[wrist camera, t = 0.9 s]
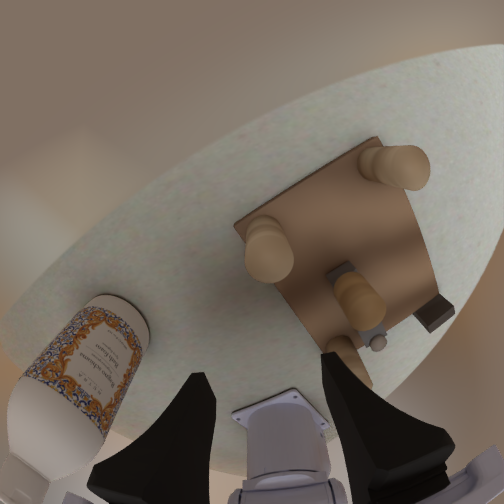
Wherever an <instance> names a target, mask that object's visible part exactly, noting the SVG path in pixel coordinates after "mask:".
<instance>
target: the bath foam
mask: <svg viewBox="0 0 504 504" xmlns="http://www.w3.org/2000/svg"><path fill="white" fill-rule="evenodd" d="M148 344H149V331H148V327H147V325H146V323H145V321H144V319H143V317H142V316H141V315H140V313H139V312H138V311H137V310H136V309H135V308H134V307H133V306H132V305H130V304H129V303H128V302H126V301H124V300H122V299H120V298H118V297H115V296H111V295H101V296H97V297H95V298H93V299H92V300H91V301H89V302H88V303H87V304H86V305H85V306H84V307H83V308H82V309H81V310H80V311H79V312H78V313H77V314H76V315H75V316H74V317H73V318H72V319H71V320H70V321H69V322H68V324H67V325H66V326H65V327H64V328H63V329H62V330H61V331H60V332H59V333H58V334H57V335H56V336H55V338H54V339H53V340H52V341H51V342H50V343H49V344H48V345H47V346H46V348H45V349H44V350H43V351H42V352H41V353H40V354H39V356H38V357H37V358H36V359H35V360H34V361H33V363H32V364H31V365H30V366H29V367H28V369H27V370H26V371H25V372H24V373H23V375H22V376H21V377H20V378H19V380H18V382H17V384H16V385H15V387H14V389H13V391H12V394H11V396H10V400H9V404H8V411H7V427H8V439H9V448H10V454H9V455H8V456H7V458H6V460H5V461H4V463H3V465H2V467H1V469H0V500H1V501H2V502H3V503H5V504H42V502H43V500H44V497H45V495H46V493H47V490H48V487H49V483H51V482H52V481H55V480H57V479H60V478H63V477H65V476H67V475H70V474H72V473H74V472H76V471H78V470H80V469H82V468H83V467H85V466H86V465H87V464H88V463H90V462H91V461H92V460H93V459H94V457H95V456H96V455H97V453H98V452H99V450H100V449H101V447H102V445H103V444H104V442H105V439H106V437H107V434H108V432H109V430H110V427H111V425H112V423H113V421H114V418H115V416H116V414H117V411H118V409H119V407H120V405H121V403H122V400H123V398H124V396H125V394H126V392H127V390H128V387H129V385H130V383H131V381H132V379H133V377H134V375H135V373H136V371H137V368H138V366H139V364H140V362H141V360H142V358H143V356H144V354H145V352H146V350H147V347H148Z"/></svg>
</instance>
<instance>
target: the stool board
mask: <svg viewBox="0 0 504 504" xmlns="http://www.w3.org/2000/svg"><path fill="white" fill-rule="evenodd" d="M429 176H430V163H429V160H428V157H427V155H426V154H425V153H424V151H423V150H422V149H420V148H419V147H417V146H413V145H408V146H386V147H383V145H382V143H381V141H380V140H379V138H378V136H377V137H371V138H370V139H368V140H366V141H365V142H363V143H361V144H360V145H358V146H356V147H355V148H353V149H351V150H349V151H348V152H346V153H344V154H343V155H341V156H340V157H338V158H336V159H335V160H333V161H331V162H330V163H328V164H326V165H325V166H323V167H322V168H320V169H318V170H317V171H315V172H313V173H312V174H310V175H309V176H307V177H305V178H304V179H302V180H301V181H299V182H297V183H296V184H294V185H293V186H291V187H290V188H288V189H286V190H285V191H283V192H282V193H280V194H279V195H277V196H275V197H274V198H272V199H271V200H269V201H268V202H266V203H265V204H263V205H262V206H260V207H258V208H257V209H255V210H254V211H252V212H251V213H249V214H248V215H246V216H245V217H243V218H242V219H240V220H239V221H237V222H236V223H234V228H235V230H236V231H237V232H238V234H239V235H240V237H241V238H242V239H243V241H244V242H245V244H246V248H245V267H246V269H247V271H248V273H249V274H250V276H251V277H253V278H254V279H255V280H257V281H259V282H263V283H274V285H275V286H276V287H277V289H278V290H279V292H280V293H281V294H282V296H283V297H284V299H285V300H286V301H287V303H288V304H289V306H290V307H291V308H292V310H293V311H294V313H295V314H296V316H297V317H298V318H299V320H300V321H301V323H302V324H303V325H304V327H305V328H306V330H307V331H308V332H309V334H310V335H311V337H312V338H313V339H314V341H315V342H316V344H317V345H318V346H319V348H320V349H321V351H322V352H323V354H324V353H329V352H333V351H334V352H336V353H337V354H338V356H339V357H340V358H341V360H342V361H343V362H344V363H345V364H346V366H347V367H348V368H349V369H350V370H351V371H352V372H353V373H354V374H355V375H356V376H357V377H358V378H359V379H360V380H361V381H362V382H363V383H364V384H365V385H366V386H367V387H369V388H370V389H372V386H373V383H372V381H371V379H370V377H369V375H368V372H367V370H366V368H365V366H364V364H363V362H362V360H361V358H360V356H359V354H358V352H357V349H359V348H360V347H362V346H364V345H365V344H364V342H363V340H362V339H361V337H360V335H359V333H358V331H357V330H355V329H354V328H353V327H352V326H351V325H350V323H349V321H348V319H347V317H346V315H345V314H344V312H343V310H342V308H341V306H340V305H339V303H338V301H337V299H336V298H335V296H334V292H333V287H332V285H331V283H330V282H329V280H328V278H327V277H326V275H327V274H328V273H330V272H332V271H333V270H335V269H336V268H338V267H339V266H341V265H343V264H344V263H346V262H347V261H350V262H351V263H352V265H353V266H354V267H355V268H356V269H357V271H358V273H360V274H361V275H362V276H363V277H364V278H365V279H366V280H367V281H368V283H369V284H370V285H371V286H372V287H373V288H374V289H375V291H376V292H377V293H378V294H379V295H380V297H381V298H382V299H383V300H384V301H385V304H386V314H385V316H384V318H383V320H382V324H383V326H384V328H385V330H386V331H388V330H389V329H391V328H392V327H394V326H395V325H397V324H398V323H400V322H401V321H402V320H404V319H405V318H407V317H408V316H410V315H411V314H413V315H414V316H415V317H416V318H417V319H418V320H419V322H420V323H421V324H422V325H423V326H424V327H425V328H426V330H427V331H428V332H429V333H431V332H433V331H434V330H435V329H437V328H438V327H439V326H441V325H442V324H443V323H444V322H446V321H447V320H448V319H449V318H451V317H452V316H453V315H454V314H455V310H454V306H453V305H452V304H451V303H450V302H449V301H448V300H446V299H445V298H444V297H443V296H442V295H441V294H439V291H438V287H437V283H436V279H435V275H434V272H433V268H432V265H431V261H430V258H429V255H428V252H427V249H426V246H425V243H424V240H423V237H422V234H421V231H420V228H419V225H418V223H417V220H416V217H415V215H414V212H413V210H412V207H411V205H410V202H409V200H408V198H407V195H406V193H405V191H404V189H407V190H411V191H417V190H420V189H421V188H423V187H424V186H425V185H426V183H427V182H428V180H429Z"/></svg>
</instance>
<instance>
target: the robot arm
mask: <svg viewBox="0 0 504 504" xmlns="http://www.w3.org/2000/svg"><path fill="white" fill-rule="evenodd" d="M321 366H322V383H323V388H324V392H325V397H326V401H327V404H328V407H329V410H330V413H331V415H332V418H333V421H334V424H335V426H336V429H337V432H338V435H339V438H340V441H341V444H342V448H343V453H344V457H345V462H346V467H347V472H348V478H349V483H350V489H351V495H352V502H353V504H487V503H488V502H490V501H491V500H492V499H494V498H495V497H496V496H497V495H499V494H500V493H501V492H502V491H504V459H503V457H502V455H501V454H500V452H499V450H498V448H497V447H496V445H493V446H491V447H490V448H489V449H487V450H486V451H484V452H483V453H481V454H480V455H478V456H477V457H476V458H474V459H473V460H472V461H471V462H470V463H468V465H467V466H466V467H465V468H464V469H462V470H461V471H459V472H457V473H456V474H454V475H452V476H450V477H448V476H447V474H446V472H445V471H446V470H447V466H446V464H445V461H446V460H447V459H448V457H449V456H450V455H451V454H452V452H453V451H454V449H455V444H454V442H453V440H452V438H451V437H450V436H449V434H448V433H447V432H446V431H445V429H443V428H440V427H436V426H434V425H431V424H428V423H425V422H423V421H420V420H418V419H416V418H414V417H412V416H410V415H408V414H406V413H404V412H403V411H400V410H399V409H397V408H395V407H394V406H392V405H391V404H389V403H388V402H386V401H385V400H384V399H382V398H381V397H379V396H378V395H377V394H376V393H374V392H373V391H372V390H371V389H370V388H369V387H367V386H366V385H365V384H364V383H363V382H362V381H361V380H360V379H359V378H358V377H357V376H356V375H355V374H354V373H353V372H352V371H351V370H350V369H349V368H348V367H347V366H346V364H345V363H344V362H343V361H342V360H341V358H340V357H339V356H338V354H337V353H336V352H334V351H333V352H329V353H324V354H321ZM295 395H296V396H295ZM231 417H232V418H233V419H234V420H235V421H237V422H238V423H239V424H241V425H242V426H243V427H245V428H246V429H247V430H248V434H247V480H243V489H236V490H235V491H234V492H233V493H232V494H231V495H230V496H229V499H228V504H348V501H347V496H346V492H345V489H344V487H343V484H342V483H341V482H340V481H338V480H336V479H335V478H331V479H328V477H329V474H330V471H331V464H330V460H329V455H328V451H327V446H326V441H325V437H324V432H323V430H325V429H327V428H329V427H330V424H329V423H328V422H327V421H326V420H325V419H324V418H323V417H322V416H321V415H320V414H319V413H318V412H317V411H316V410H315V409H314V407H313V406H312V405H311V404H310V403H309V402H308V401H307V400H306V399H305V398H304V397H303V396H302V395H301V394H300V393H299V392H298V391H297V390H296V389H291V390H289V391H287V392H284V393H282V394H280V395H277V396H275V397H273V398H270V399H268V400H265V401H263V402H261V403H258V404H255V405H253V406H250V407H248V408H245V409H242V410H240V411H237V412H234V413H232V415H231ZM215 421H216V398H215V396H214V393H213V391H212V389H211V387H210V385H209V382H208V380H207V378H206V376H205V373H204V372H199V373H192V374H191V375H190V376H189V378H188V379H187V381H186V382H185V383H184V385H183V386H182V388H181V389H180V391H179V392H178V394H177V395H176V396H175V398H174V399H173V400H172V402H171V403H170V405H169V406H168V407H167V408H166V410H165V411H164V412H163V413H162V414H161V416H160V417H159V418H158V419H157V420H156V421H155V422H154V424H153V425H152V426H151V427H150V428H149V429H148V430H147V431H146V432H144V433H143V434H142V435H141V436H140V437H139V438H137V439H136V440H135V441H134V442H132V443H131V444H130V445H129V446H127V447H126V448H124V449H123V450H121V451H120V452H118V453H116V454H115V455H113V456H111V457H110V458H108V459H106V460H104V461H102V462H100V463H98V464H95V465H94V467H93V469H92V472H91V474H90V477H89V480H88V482H87V488H88V489H89V490H90V491H92V492H93V493H94V494H96V495H97V496H99V497H100V498H102V499H103V500H105V501H106V502H108V503H109V504H210V501H209V461H210V452H211V446H212V440H213V434H214V427H215ZM62 504H93V503H92V502H90V501H88V500H86V499H84V498H82V497H80V496H77V495H75V494H73V493H70V492H66V495H65V498H64V500H63V503H62Z"/></svg>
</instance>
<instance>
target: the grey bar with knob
mask: <svg viewBox="0 0 504 504" xmlns="http://www.w3.org/2000/svg"><path fill="white" fill-rule="evenodd" d="M326 277H327V278H328V280H329V282H330V283H331V285H332V287H333V292H334V296H335V298H336V299H337V301H338V303H339V305H340V306H341V308H342V310H343V312H344V314H345V315H346V317H347V319H348V321H349V323H350V325H351V326H352V327H353V328H354V329H355V330H357V331H358V333H359V335H360V337H361V339H362V340H363V342H364V344H365V346H366V348H367V347H369V346H370V347H371V349H372V351H374V352H378V351H381V350H382V349H383V348H384V347H385V346H386V344H387V340H386V338H385V336H386V335H387V333H386V330H385V328H384V326H383V324H382V320H383V318H384V316H385V314H386V304H385V301H384V300H383V299H382V298H381V297H380V295H379V294H378V293H377V292H376V291H375V289H374V288H373V287H372V286H371V285H370V284H369V283H368V281H367V280H366V279H365V278H364V277H363V276H362V275H361V274H360V273H358V271H357V269H356V268H355V267H354V266H353V265H352V263H351V262H350V261H347V262H346V263H344V264H343V265H341V266H339V267H338V268H336V269H335V270H333V271H332V272H330V273H328V274H327V275H326Z"/></svg>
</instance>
